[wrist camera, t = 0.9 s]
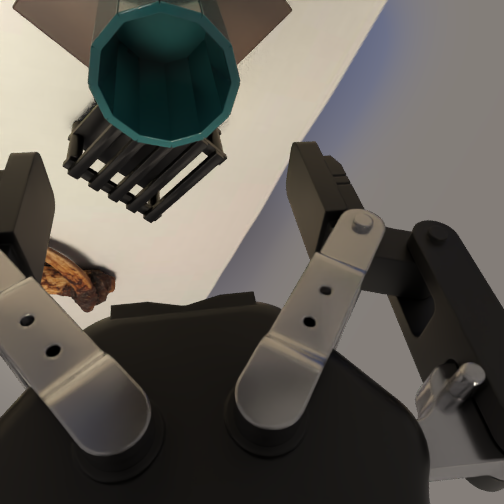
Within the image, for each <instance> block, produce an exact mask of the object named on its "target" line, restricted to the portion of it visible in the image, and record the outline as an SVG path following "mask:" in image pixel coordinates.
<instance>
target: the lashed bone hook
mask: <svg viewBox="0 0 504 504" xmlns="http://www.w3.org/2000/svg"><path fill="white" fill-rule="evenodd" d="M45 262H47V263H48V264H50V265H51V266H53V267H47V266H44V269H43V274H42V279H41V284H40V285H41V286H42V287H43V288H44V289H45V290H46V291H47V292H48V294H58V295H60V296H69V297H72V299H74V301H75V303H77V304H78V305H79V306H80V307H81V309H82V310H83V311H84V312H90V311H92V310H93V308H94V306H95V305H98V304H100V303H102V302H104V301H106V298H107V295H108V293H110V292H113V291H114V289H115V277H113V276H109V275H107V274H104V273H103V272H102V271H100V270H82V269H81V268H80V267H79V266H78V265H76V264H75V263H74V262H72V261H71V260H70V259H68V258H67V257H65V256H64V255H62V254H60V253H59V252H57V251H55V250H53V249H52V248H50V247H48V248H47V254H46V259H45Z"/></svg>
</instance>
